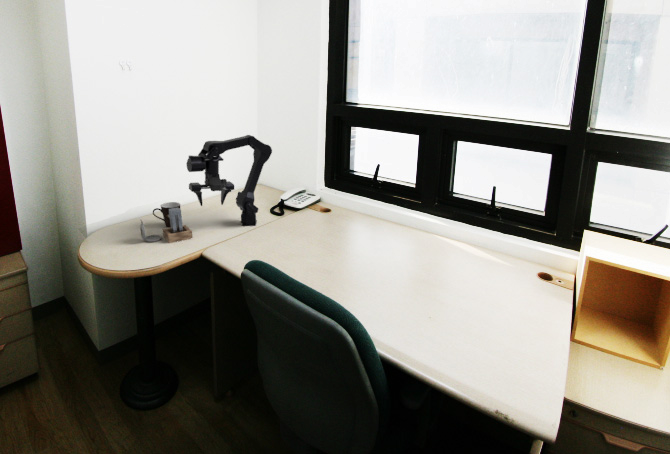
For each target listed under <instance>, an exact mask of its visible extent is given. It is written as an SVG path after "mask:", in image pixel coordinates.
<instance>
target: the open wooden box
mask: <svg viewBox="0 0 670 454" xmlns="http://www.w3.org/2000/svg"><path fill="white" fill-rule="evenodd" d="M182 225H183V232H178V233H173V234H171V228H170V227H165V228H162V236H163V238H164V239H165V240H166V242H168V243H169V244H172V243H177V241H178V242H182V240H183V241H187V239H188V240H192V239H191V238H194V237H193V231H192V230H191V228H189V227H188V226H187V224H182Z"/></svg>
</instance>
